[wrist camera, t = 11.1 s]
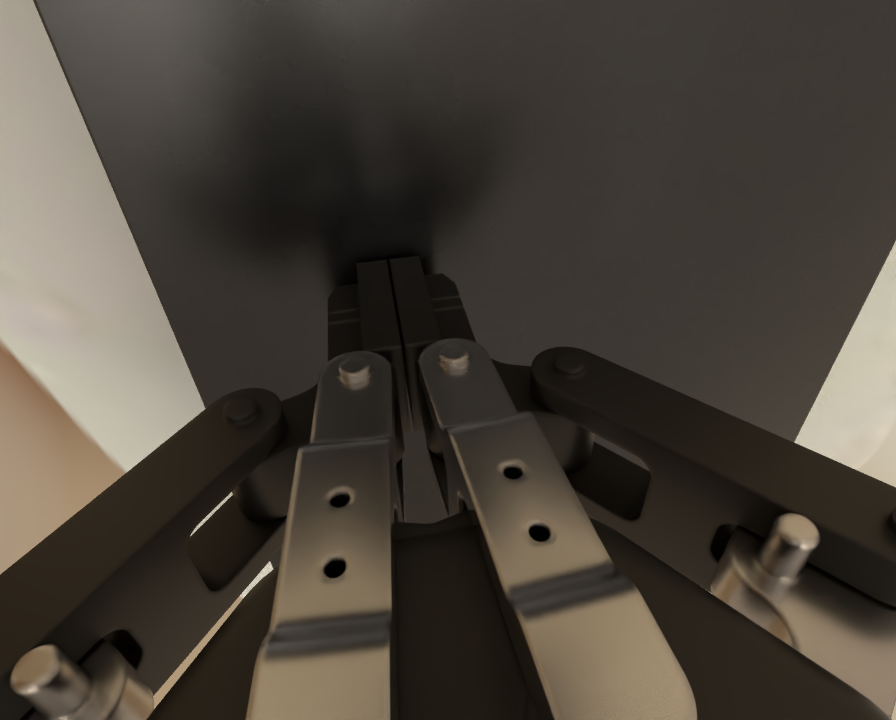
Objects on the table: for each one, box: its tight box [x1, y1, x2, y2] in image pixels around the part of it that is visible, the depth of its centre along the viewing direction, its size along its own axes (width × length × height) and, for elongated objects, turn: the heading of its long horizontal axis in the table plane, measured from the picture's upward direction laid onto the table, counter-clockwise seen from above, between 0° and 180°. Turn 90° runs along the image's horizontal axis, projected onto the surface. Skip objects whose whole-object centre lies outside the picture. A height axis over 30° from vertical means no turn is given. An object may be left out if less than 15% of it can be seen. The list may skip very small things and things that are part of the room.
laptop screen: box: [33, 0, 896, 569], centre depth 15 cm, size 20×26×1 cm
